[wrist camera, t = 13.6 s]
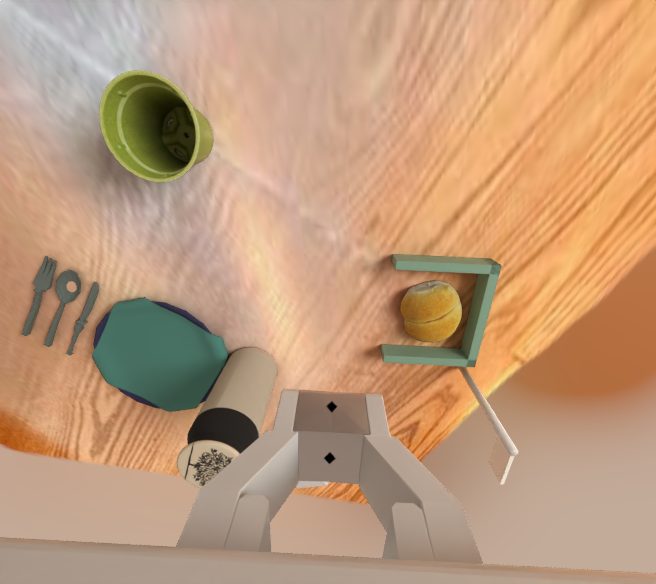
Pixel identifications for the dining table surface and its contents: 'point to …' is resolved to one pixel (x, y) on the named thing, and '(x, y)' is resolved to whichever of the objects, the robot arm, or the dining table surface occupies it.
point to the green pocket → (470, 343)
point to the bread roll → (431, 311)
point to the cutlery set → (142, 345)
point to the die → (311, 484)
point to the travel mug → (229, 416)
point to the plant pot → (152, 126)
